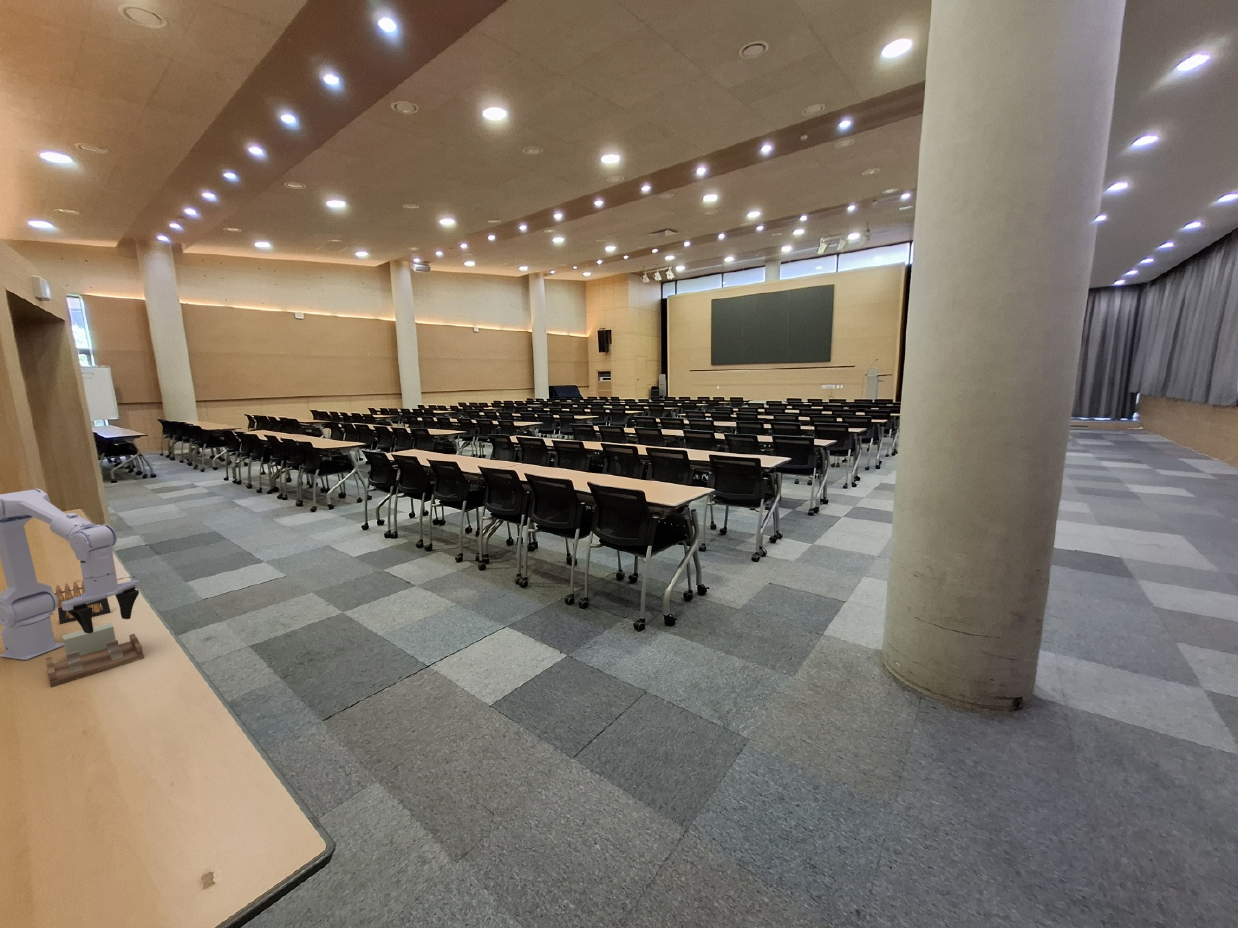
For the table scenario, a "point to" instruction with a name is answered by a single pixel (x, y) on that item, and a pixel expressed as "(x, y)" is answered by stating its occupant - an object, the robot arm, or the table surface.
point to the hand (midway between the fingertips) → (108, 625)
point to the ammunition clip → (96, 604)
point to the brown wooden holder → (94, 661)
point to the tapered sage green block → (89, 639)
